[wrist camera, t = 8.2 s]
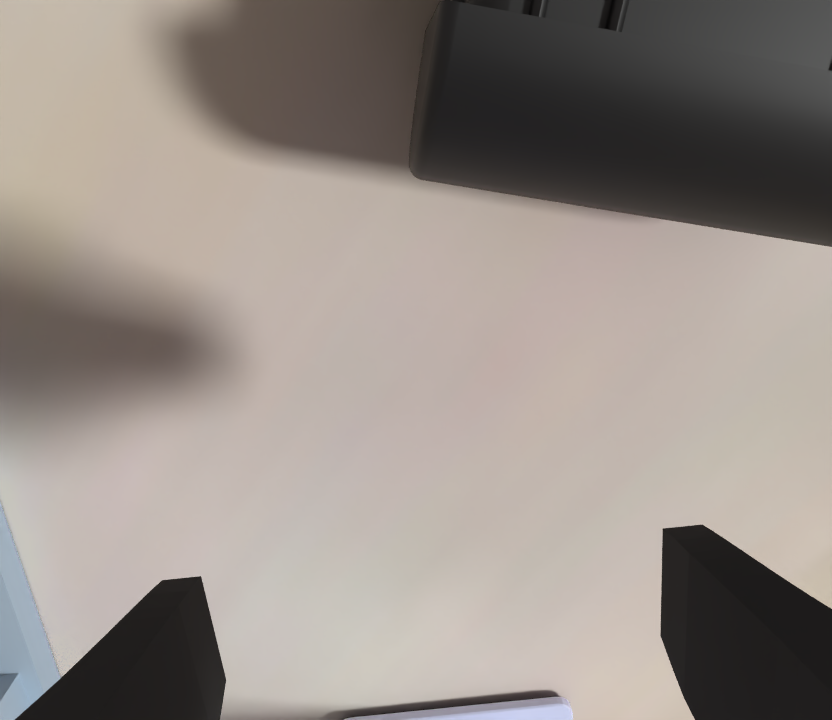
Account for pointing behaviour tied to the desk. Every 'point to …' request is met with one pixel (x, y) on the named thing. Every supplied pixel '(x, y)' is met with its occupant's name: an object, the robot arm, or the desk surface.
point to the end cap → (636, 108)
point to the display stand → (20, 636)
